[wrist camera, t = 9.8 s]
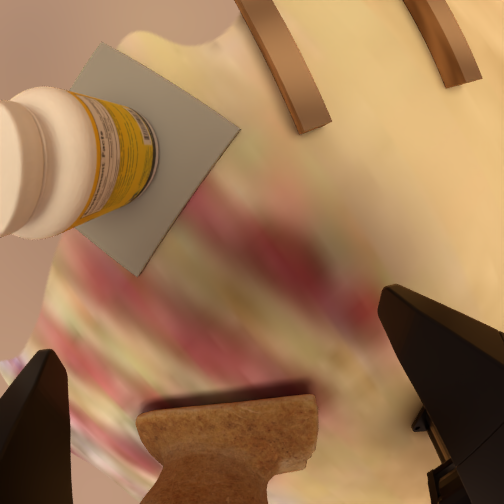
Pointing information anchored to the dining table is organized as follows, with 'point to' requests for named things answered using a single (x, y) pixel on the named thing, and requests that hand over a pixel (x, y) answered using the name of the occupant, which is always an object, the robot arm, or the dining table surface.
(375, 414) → the dining table surface
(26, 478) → the robot arm
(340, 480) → the dining table surface
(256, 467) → the brown boot
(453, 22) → the open wooden u-frame
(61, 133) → the pill bottle
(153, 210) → the coaster
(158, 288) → the dining table surface
